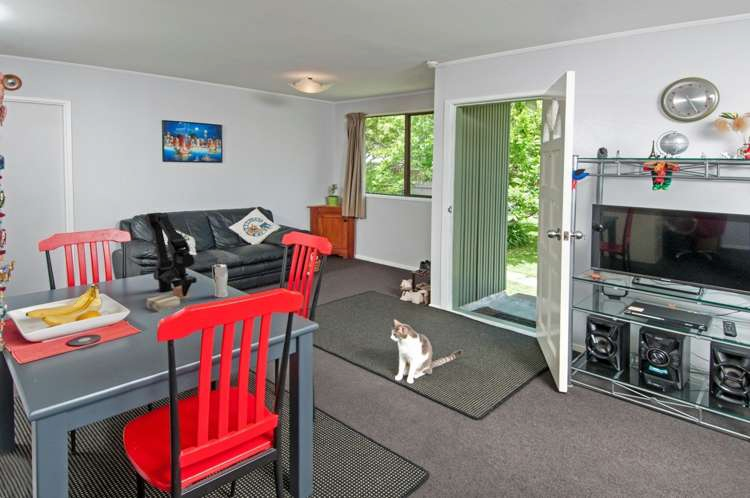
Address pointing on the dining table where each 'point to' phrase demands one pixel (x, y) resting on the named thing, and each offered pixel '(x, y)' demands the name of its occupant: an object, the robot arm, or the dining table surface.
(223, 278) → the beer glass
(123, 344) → the dining table surface
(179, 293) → the terracotta cube
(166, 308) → the birch block
